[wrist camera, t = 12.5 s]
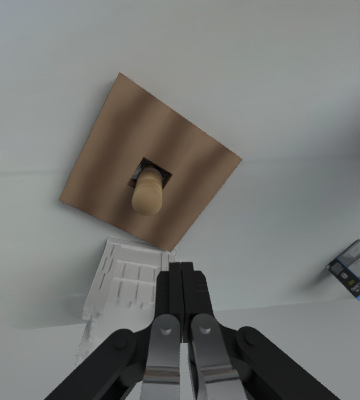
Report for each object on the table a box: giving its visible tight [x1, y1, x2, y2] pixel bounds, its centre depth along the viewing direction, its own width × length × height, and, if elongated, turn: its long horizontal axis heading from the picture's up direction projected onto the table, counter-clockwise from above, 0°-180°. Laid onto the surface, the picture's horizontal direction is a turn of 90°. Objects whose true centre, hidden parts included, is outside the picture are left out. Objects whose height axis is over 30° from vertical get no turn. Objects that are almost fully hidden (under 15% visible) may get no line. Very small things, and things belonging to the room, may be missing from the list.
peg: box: [132, 164, 162, 216], centre depth 30 cm, size 4×4×11 cm
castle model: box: [75, 237, 176, 365], centre depth 37 cm, size 13×15×14 cm
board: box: [59, 72, 242, 253], centre depth 33 cm, size 20×20×3 cm
